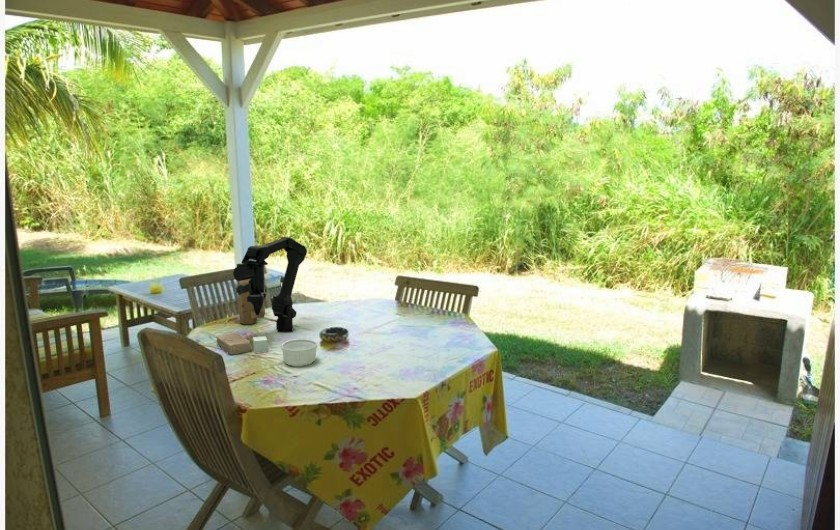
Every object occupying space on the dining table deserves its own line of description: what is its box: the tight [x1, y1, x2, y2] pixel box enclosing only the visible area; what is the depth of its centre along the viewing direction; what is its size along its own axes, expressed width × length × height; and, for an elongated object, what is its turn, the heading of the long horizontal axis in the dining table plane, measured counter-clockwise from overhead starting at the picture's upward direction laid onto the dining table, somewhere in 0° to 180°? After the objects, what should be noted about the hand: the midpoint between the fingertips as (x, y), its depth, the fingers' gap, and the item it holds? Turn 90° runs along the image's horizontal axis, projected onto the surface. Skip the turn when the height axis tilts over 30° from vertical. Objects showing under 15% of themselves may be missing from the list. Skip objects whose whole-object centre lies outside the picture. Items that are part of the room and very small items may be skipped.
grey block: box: [252, 335, 269, 354], centre depth 223 cm, size 5×5×5 cm
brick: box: [216, 331, 251, 355], centre depth 226 cm, size 17×8×5 cm, turn 39°
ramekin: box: [280, 338, 318, 367], centre depth 212 cm, size 13×13×7 cm
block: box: [237, 279, 258, 325], centre depth 259 cm, size 11×8×20 cm
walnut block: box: [251, 300, 266, 319], centre depth 233 cm, size 5×5×6 cm
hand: (258, 313), depth 234 cm, fingers closed on walnut block, 5 cm apart
